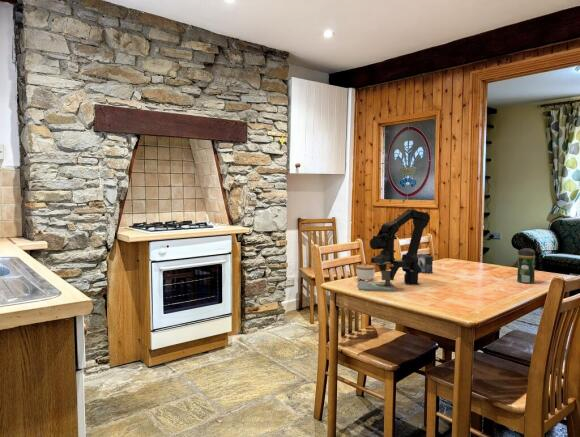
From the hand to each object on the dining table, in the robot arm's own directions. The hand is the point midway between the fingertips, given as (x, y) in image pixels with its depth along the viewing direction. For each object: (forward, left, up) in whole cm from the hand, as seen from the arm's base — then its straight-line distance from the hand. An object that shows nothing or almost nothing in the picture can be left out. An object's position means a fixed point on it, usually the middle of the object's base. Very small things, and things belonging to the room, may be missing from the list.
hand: (387, 278), depth 214 cm
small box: (-27, -46, -5) cm, 54 cm away
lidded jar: (+10, -18, -5) cm, 21 cm away
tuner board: (+6, 0, -5) cm, 8 cm away
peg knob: (+4, 0, -3) cm, 5 cm away
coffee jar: (-77, -22, -5) cm, 80 cm away
